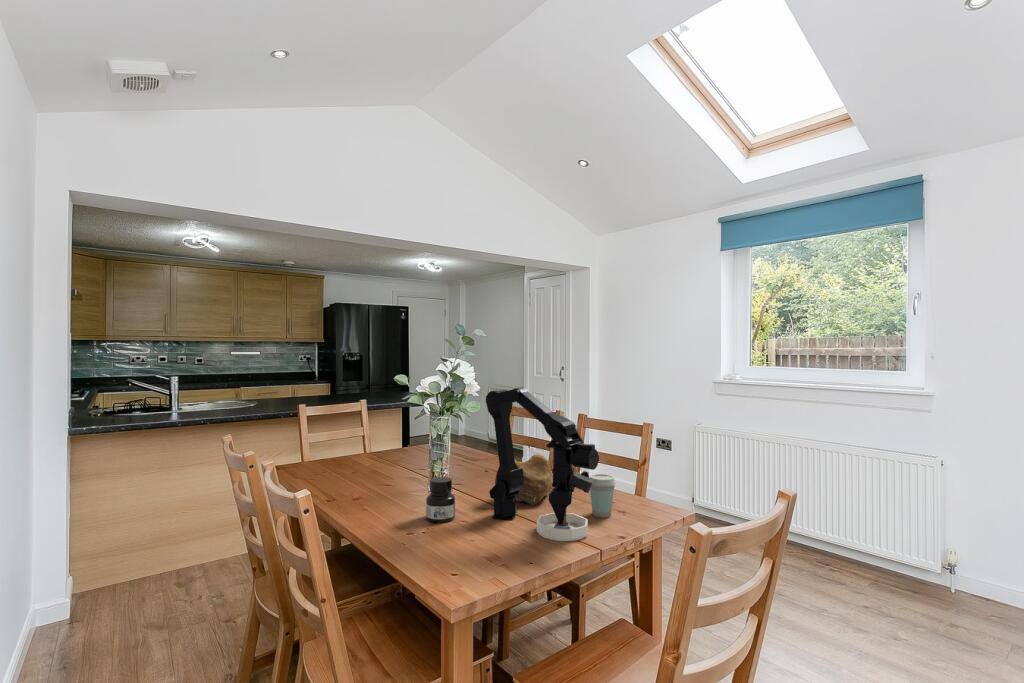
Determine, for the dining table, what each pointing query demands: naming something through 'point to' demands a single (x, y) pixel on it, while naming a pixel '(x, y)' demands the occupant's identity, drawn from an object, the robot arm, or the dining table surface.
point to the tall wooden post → (564, 519)
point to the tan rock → (534, 479)
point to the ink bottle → (440, 500)
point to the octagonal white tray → (562, 527)
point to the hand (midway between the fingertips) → (562, 518)
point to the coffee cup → (602, 494)
